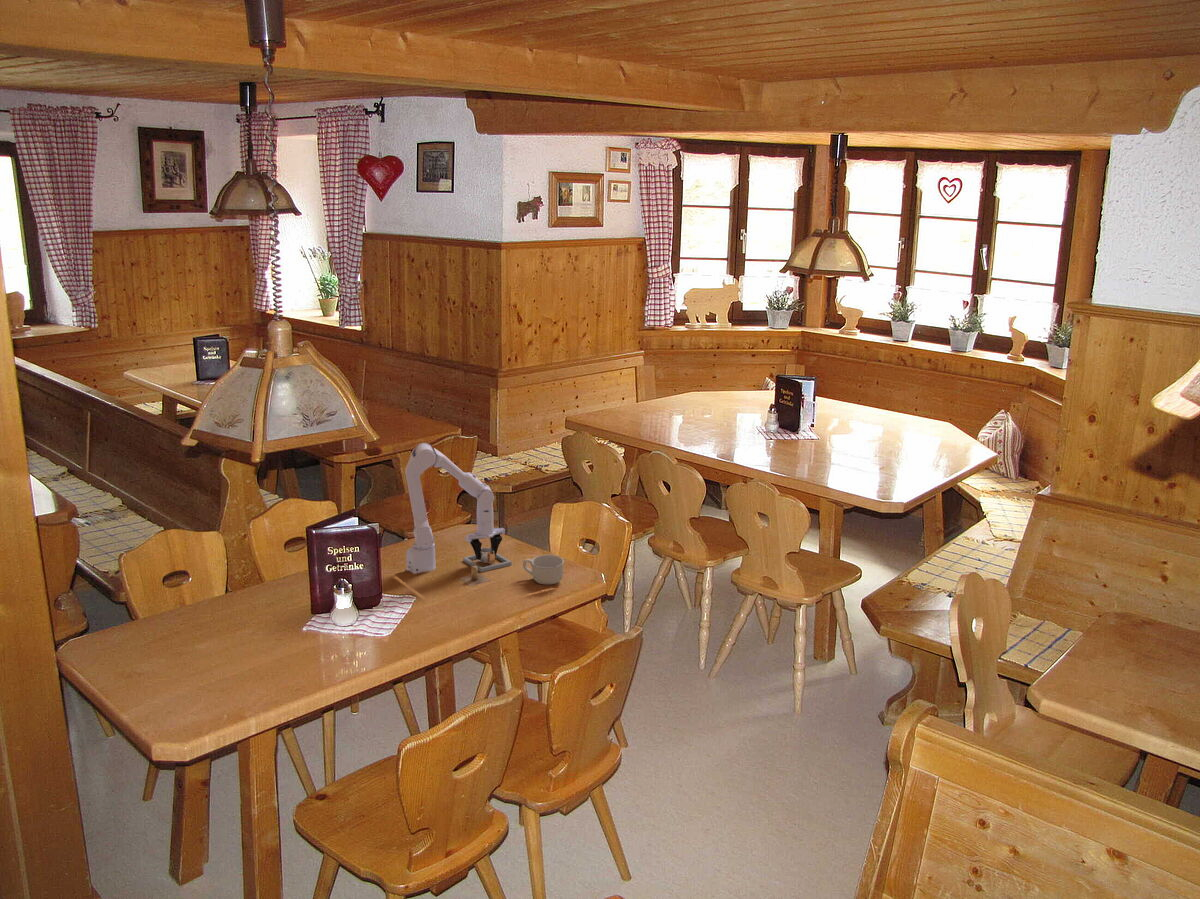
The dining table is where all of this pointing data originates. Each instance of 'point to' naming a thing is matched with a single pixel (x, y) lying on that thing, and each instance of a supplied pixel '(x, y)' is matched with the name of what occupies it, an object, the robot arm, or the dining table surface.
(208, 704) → the dining table surface
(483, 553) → the ring
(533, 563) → the teacup
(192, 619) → the dining table surface
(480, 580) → the tan peg stand
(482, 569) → the tray
